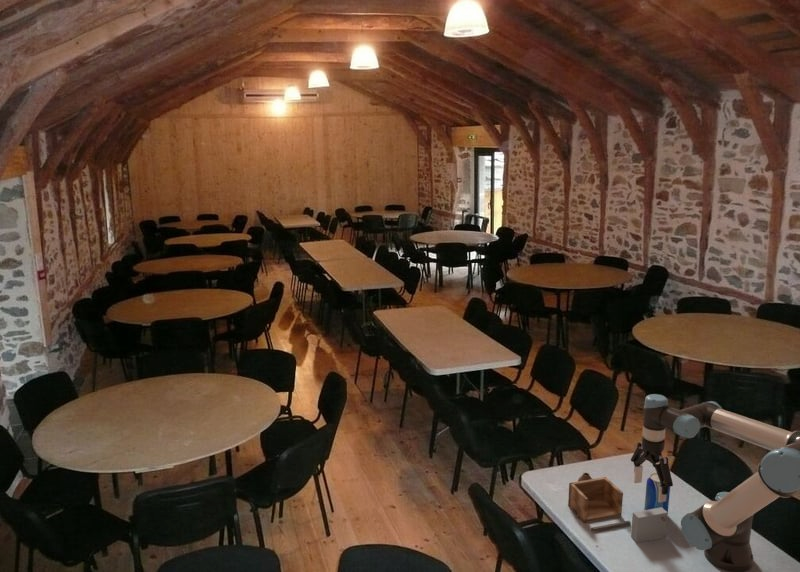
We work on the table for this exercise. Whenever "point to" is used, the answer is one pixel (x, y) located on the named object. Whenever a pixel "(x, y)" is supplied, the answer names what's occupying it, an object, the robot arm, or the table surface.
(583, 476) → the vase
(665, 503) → the beer can
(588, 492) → the box
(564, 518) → the table surface
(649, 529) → the grey flat-topped box
